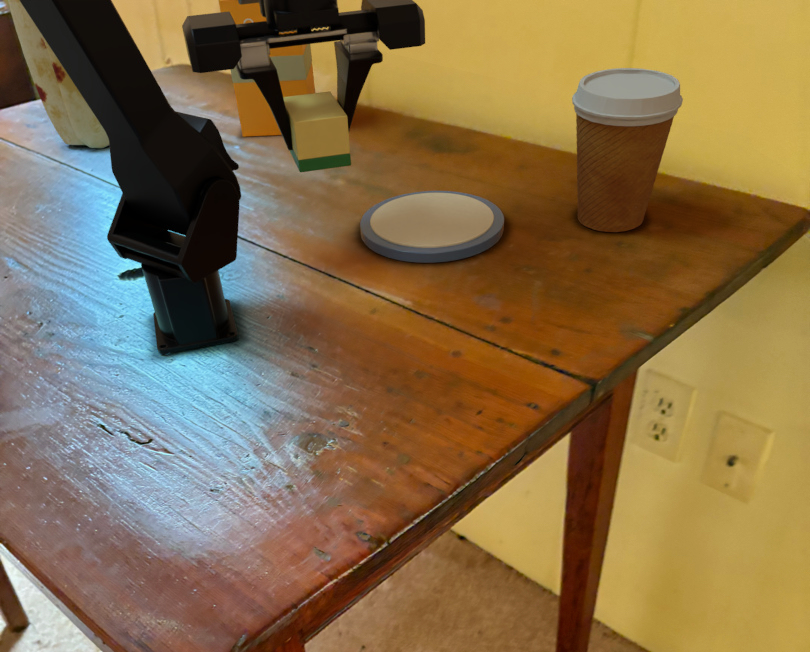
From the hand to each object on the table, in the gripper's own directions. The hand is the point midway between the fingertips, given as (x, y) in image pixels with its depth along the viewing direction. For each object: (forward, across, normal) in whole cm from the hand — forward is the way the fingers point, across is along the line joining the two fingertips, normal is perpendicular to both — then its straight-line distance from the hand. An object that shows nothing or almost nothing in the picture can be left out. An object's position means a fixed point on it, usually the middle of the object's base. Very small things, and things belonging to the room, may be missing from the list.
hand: (316, 144), depth 70 cm
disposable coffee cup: (+9, -27, +4) cm, 29 cm away
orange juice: (+9, -1, -36) cm, 37 cm away
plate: (+9, -10, 0) cm, 14 cm away
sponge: (+1, 0, 0) cm, 1 cm away
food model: (+10, +22, -39) cm, 46 cm away
